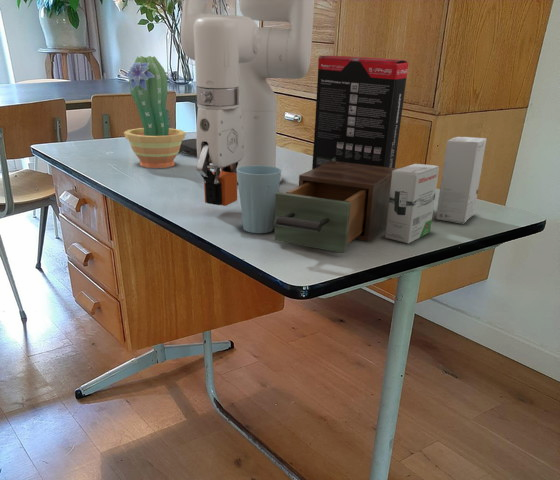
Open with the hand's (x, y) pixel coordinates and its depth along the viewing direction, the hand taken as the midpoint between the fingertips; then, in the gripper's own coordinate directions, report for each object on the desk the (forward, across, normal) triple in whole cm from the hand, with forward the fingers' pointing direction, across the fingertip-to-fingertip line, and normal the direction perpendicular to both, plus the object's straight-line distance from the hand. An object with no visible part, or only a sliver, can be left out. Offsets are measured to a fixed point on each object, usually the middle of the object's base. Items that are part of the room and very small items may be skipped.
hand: (221, 199), depth 115 cm
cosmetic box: (+3, +21, -41) cm, 46 cm away
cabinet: (+3, +5, -24) cm, 25 cm away
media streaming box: (+5, +53, +37) cm, 65 cm away
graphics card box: (+3, +24, -18) cm, 30 cm away
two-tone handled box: (+1, -8, -24) cm, 26 cm away
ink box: (+3, +4, -36) cm, 37 cm away
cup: (+2, -6, -11) cm, 13 cm away
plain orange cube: (0, 0, 0) cm, 0 cm away
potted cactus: (+4, +31, +38) cm, 49 cm away
